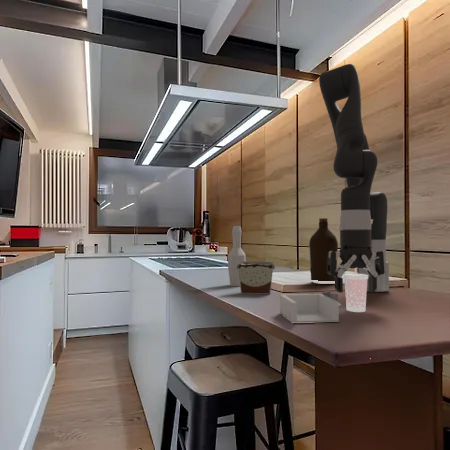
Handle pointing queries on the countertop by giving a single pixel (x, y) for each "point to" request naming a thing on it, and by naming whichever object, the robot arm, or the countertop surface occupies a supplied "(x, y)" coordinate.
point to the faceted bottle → (235, 257)
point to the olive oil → (322, 251)
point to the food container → (255, 277)
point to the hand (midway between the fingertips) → (355, 291)
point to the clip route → (330, 295)
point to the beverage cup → (355, 291)
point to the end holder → (309, 308)
